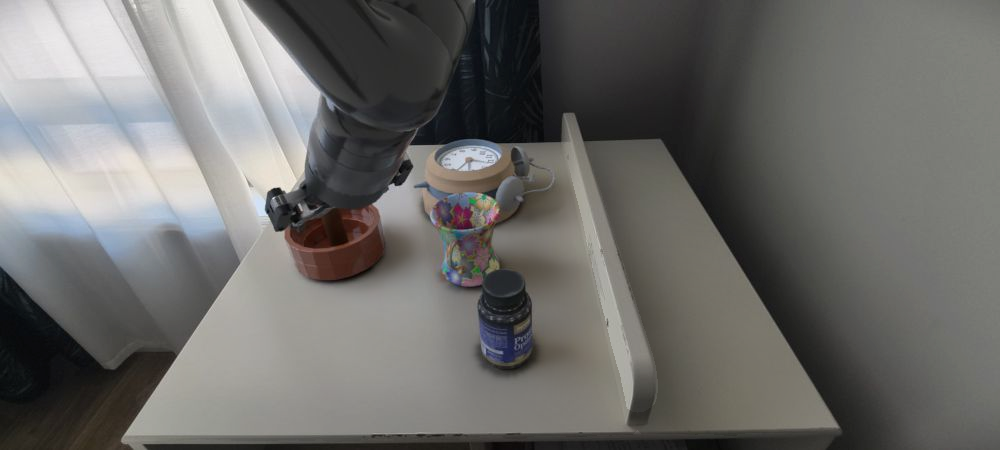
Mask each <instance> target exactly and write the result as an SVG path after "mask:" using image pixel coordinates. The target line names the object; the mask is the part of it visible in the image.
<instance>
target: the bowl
mask: <svg viewBox="0 0 1000 450" xmlns="http://www.w3.org/2000/svg"><path fill="white" fill-rule="evenodd" d="M317 207H318V205H317ZM340 211H341V214H342V218H343V222H344V225H345V229H346V232H347V236H348V240H349V242H348V243H346V244H344V245H339V246H335V247H330V244H329V240H328V237H327V234H326V231H325V227H324V224H323V221H322V218H317V219H311V220H308V221H306V227H305V230H304V231H301V232H299V233H298V232H297V230H296V229H295V230H293V231H292V230H290V228H289V226H288V227H287V228H286V229H285V230H284V234H283V235H284V241H285V244H286V246H287V249H288V251H289V254H290V257H291V260H292V262H293V265H294V267H295V269H296V270H297V272H298V273H299V274H301V275H302V276H305V277H306V278H308V279H312V280H317V281H337V280H342V279H345V278H349V277H354V276H355V275H357V274H360V273H362V272H364V271H366V270H368V269H369V268H370V267H371V266H374V265H375V264H376V263H377V262H378V261H379V260H380V259H381V257H382V256H383V254H384V253H385V249H386V246H387V241H386V236H385V232H384V228H383V223H382V219H381V214H380V211H379V209H378V208H377V207H376V206H375V205H374V203H373V204H371V205H369V206H367V207H364V208H361V209H354V210H347V209H340ZM301 212H302V214H303V210H301Z"/></svg>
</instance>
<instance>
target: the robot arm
mask: <svg viewBox="0 0 1000 450" xmlns="http://www.w3.org/2000/svg"><path fill="white" fill-rule="evenodd" d="M241 1H242V2H243V3H244V4H245V5H246V7H247V8H248V9H249V10H250V11H251V12H252V14H253V15H254V16H255V17H256V18H257V19H258V21H259V22H260V23H261V24H262V25H263V26H264V27H265V29H266V30H267V31H268V32H269V33H270V34H271V35H272V37H273V38H274V40H276V41H277V43H278V44H279V45H280V46H281V48H282V49H284V51H285V52H286V53H287V55H288V56H289V57H290V59H292V61H293V62H294V64H295V65H297V67H298V68H299V69H300V71H301V72H302V74H304V76H305V77H306V78H307V79H308V81H309V82H310V83H311V84H312V85H313V86H314V87H315V89H317V90H318V92H320V94H319V97H318V102H317V109H316V115H315V116H314V119H313V121H312V123H311V126H310V130H309V135H308V136H309V137H308V141H307V147H306V154H305V160H304V180H302V182H300V183H299V185H298V187H296V188H295V189H294V190H292V191H290V192H287V191H286V190H284V189H283V190H282V188H281V187H280V186H279V187H273V188H271V189H269V190H268V191H267V192H266V197H265V205H264V212H265V214H266V215H267V216H268V218H269V220H270V222H271V225H272V226H273V230H274V232H275V233H279V232H280V233H281V232H283V231H284V232H285V229H286V228H287V227H288V226H289V228H290V230H292V231H293V230H295V229H296V230H297V232H298V233H299V232H301V231H304V230H305V227H306V221H308V220H311V219H317V218H321V217H322V216H323V215H325V214H326V213H328V212H329V211H331V210H332V209H334V208H340V209H347V210H354V209H361V208H364V207H367V206H369V205H371V204H373V205H374V204H376V202H378V200H380V199H381V198H382V197H383V195H384V194H386V193H387V192H388V191H389V190H390V187H389V186H391V185H394V187H401V186H402V185H403V184H405V182H406V181H407V179H408V177H409V175H410V174H411V172H412V171H413V168H414V164H413V162H412V160H411V159H410V156H409V155H408V153H407V150H408V148H409V147H410V145H411V143H412V142H413V140H414V139H415V137H416V135H417V133H418V131H419V129H420V128H422V127H424V126H425V125H426V124H428V123H429V122H430V121H432V120H433V118H434V117H435V116H436V115H437V114H438V112H439V110H440V109H441V107H442V104H443V103H444V100H445V98H446V96H447V93H448V91H449V88H450V86H451V83H452V80H453V77H454V75H455V72H456V69H457V67H458V64H459V62H460V60H461V56H462V54H463V52H464V50H465V47H466V44H467V42H468V39H469V37H470V33H471V31H472V28H473V25H474V20H475V16H476V15H475V14H476V0H241ZM299 204H300V206H301V207H300V206H299ZM317 205H322V206H321V207H319V208H318V207H317ZM301 209H302V210H301ZM301 211H303V214H302V212H301Z"/></svg>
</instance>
